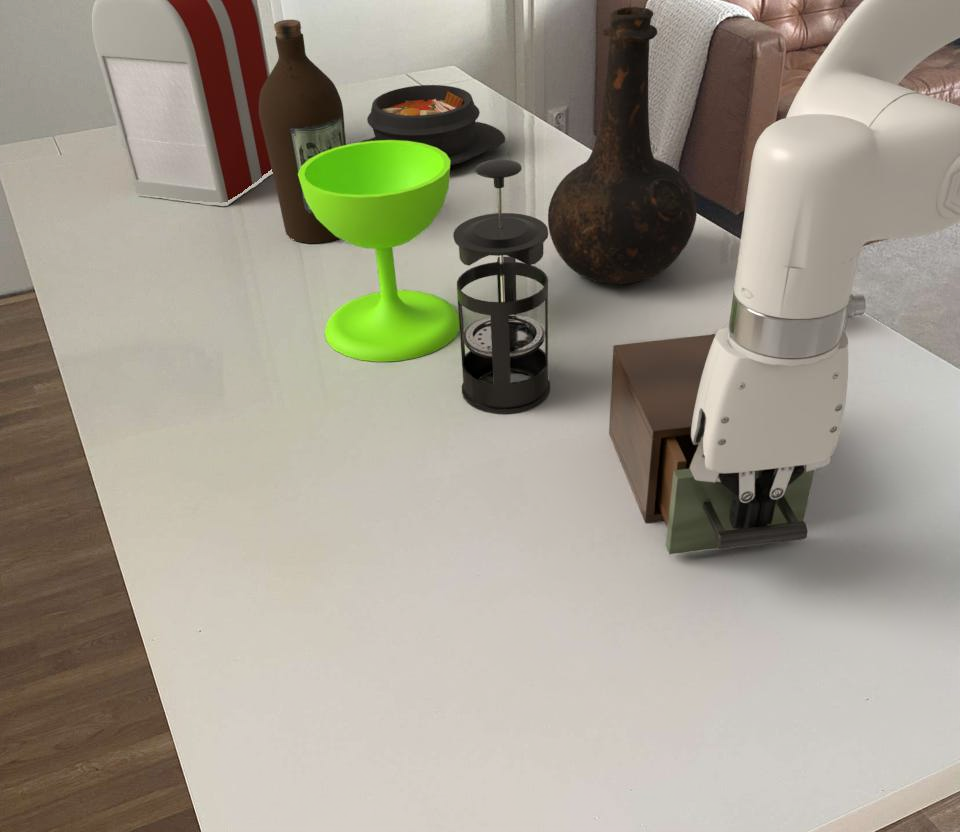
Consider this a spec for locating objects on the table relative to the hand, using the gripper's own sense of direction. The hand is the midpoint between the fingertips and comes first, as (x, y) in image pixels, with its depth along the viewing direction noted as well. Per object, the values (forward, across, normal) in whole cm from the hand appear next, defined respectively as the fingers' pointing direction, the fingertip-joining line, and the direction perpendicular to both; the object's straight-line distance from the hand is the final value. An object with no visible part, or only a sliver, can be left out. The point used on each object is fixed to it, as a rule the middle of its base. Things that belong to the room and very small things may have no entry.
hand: (748, 530), depth 81 cm
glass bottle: (+5, -3, -58) cm, 59 cm away
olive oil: (+5, +34, -79) cm, 86 cm away
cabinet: (+4, 0, -15) cm, 16 cm away
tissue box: (+5, +50, -102) cm, 114 cm away
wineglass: (+5, +26, -49) cm, 56 cm away
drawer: (+4, 0, -6) cm, 7 cm away
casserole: (+5, +18, -102) cm, 104 cm away
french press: (+5, +15, -33) cm, 37 cm away
